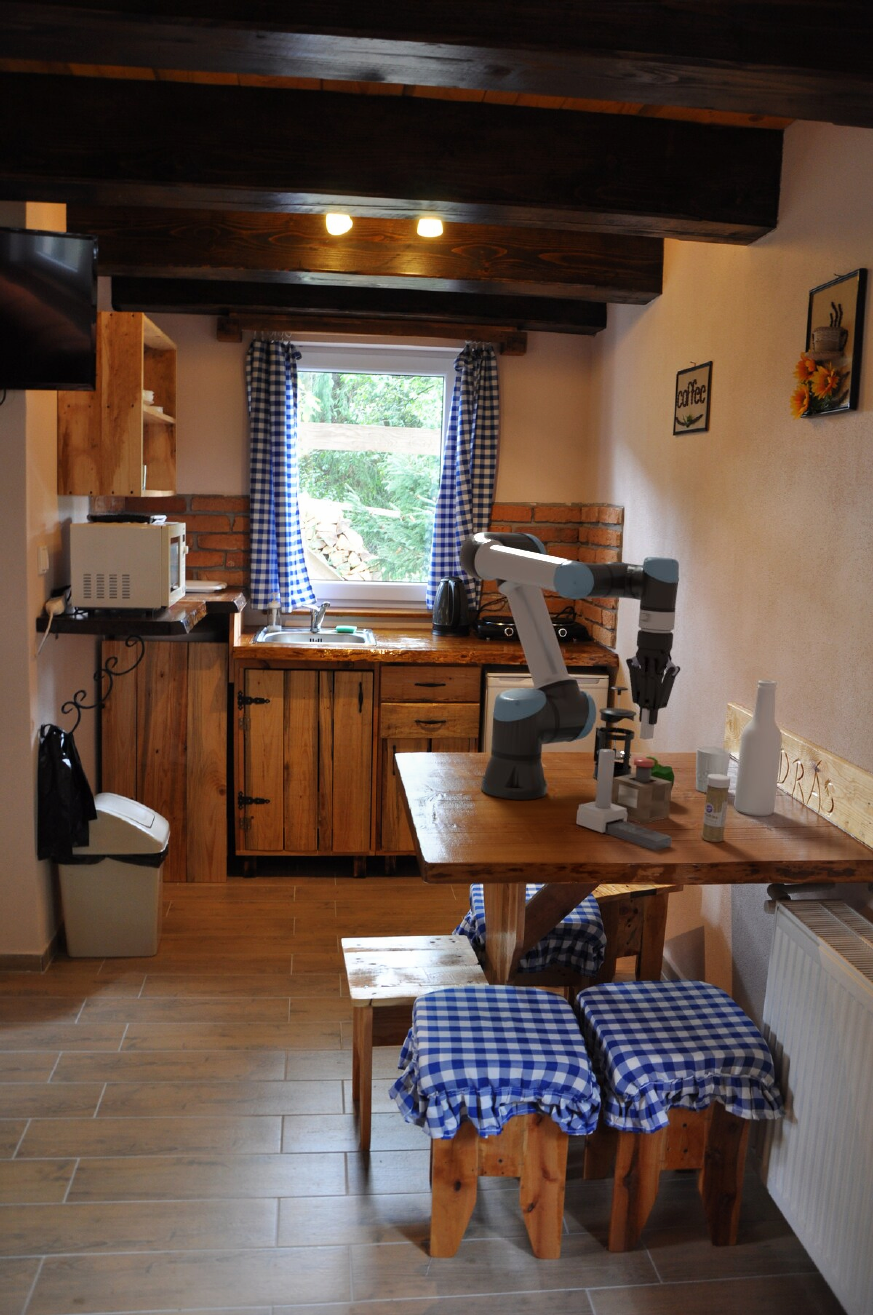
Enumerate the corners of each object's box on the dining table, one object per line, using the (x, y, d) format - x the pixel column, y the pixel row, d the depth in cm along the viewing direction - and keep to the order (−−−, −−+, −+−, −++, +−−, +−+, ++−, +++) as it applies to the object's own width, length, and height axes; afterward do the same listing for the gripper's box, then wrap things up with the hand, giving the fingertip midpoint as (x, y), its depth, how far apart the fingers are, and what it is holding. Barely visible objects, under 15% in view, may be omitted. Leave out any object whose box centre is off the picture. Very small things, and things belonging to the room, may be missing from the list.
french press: (641, 782, 263) (649, 690, 260) (612, 786, 258) (620, 692, 255) (608, 770, 273) (616, 681, 269) (580, 773, 268) (587, 683, 264)
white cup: (723, 787, 263) (727, 747, 261) (729, 796, 255) (733, 755, 254) (691, 784, 264) (694, 745, 262) (695, 793, 256) (699, 752, 254)
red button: (626, 794, 235) (629, 759, 234) (639, 792, 238) (642, 756, 237) (642, 799, 232) (646, 763, 230) (655, 796, 235) (658, 761, 233)
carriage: (576, 823, 226) (582, 749, 223) (600, 817, 231) (606, 745, 228) (602, 832, 220) (608, 756, 218) (626, 826, 225) (632, 752, 223)
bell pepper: (679, 801, 249) (683, 759, 247) (660, 807, 243) (664, 764, 241) (648, 792, 254) (651, 751, 253) (629, 798, 248) (632, 756, 247)
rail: (578, 823, 227) (579, 814, 227) (594, 820, 230) (595, 811, 230) (655, 850, 212) (656, 841, 212) (670, 846, 215) (671, 836, 215)
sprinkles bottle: (697, 839, 221) (703, 775, 219) (707, 834, 225) (713, 772, 222) (718, 844, 218) (724, 780, 216) (727, 839, 222) (734, 776, 220)
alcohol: (730, 804, 248) (743, 676, 244) (768, 807, 248) (782, 679, 243) (738, 815, 239) (751, 683, 235) (778, 818, 239) (792, 685, 234)
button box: (609, 813, 236) (612, 777, 234) (636, 806, 242) (639, 772, 240) (642, 824, 229) (645, 787, 228) (668, 817, 235) (671, 782, 234)
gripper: (620, 627, 231) (611, 733, 235) (669, 635, 222) (660, 746, 225) (642, 625, 236) (633, 730, 240) (691, 633, 227) (681, 742, 230)
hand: (646, 738), depth 233 cm, fingers closed
